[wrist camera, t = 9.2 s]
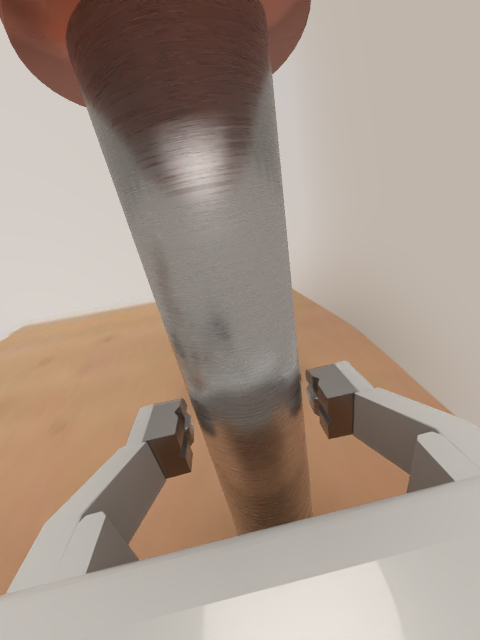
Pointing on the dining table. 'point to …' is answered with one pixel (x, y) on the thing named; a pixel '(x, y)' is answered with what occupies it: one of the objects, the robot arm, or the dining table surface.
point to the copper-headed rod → (199, 207)
